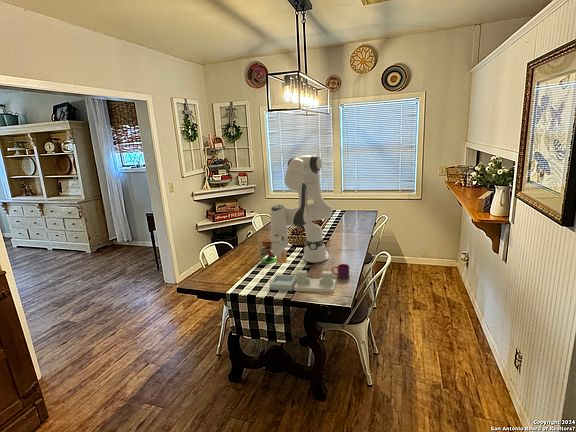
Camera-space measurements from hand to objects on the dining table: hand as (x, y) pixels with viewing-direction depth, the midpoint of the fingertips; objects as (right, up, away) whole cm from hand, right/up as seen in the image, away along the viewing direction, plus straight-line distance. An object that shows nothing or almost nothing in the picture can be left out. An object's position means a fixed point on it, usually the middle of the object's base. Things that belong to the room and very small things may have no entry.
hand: (281, 257), depth 183 cm
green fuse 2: (+26, -14, -3) cm, 30 cm away
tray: (+1, -16, +4) cm, 17 cm away
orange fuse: (0, -3, +1) cm, 3 cm away
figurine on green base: (-9, -8, +44) cm, 46 cm away
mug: (+35, -13, +10) cm, 39 cm away
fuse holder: (+19, -16, -1) cm, 25 cm away
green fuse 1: (+12, -14, +1) cm, 19 cm away
